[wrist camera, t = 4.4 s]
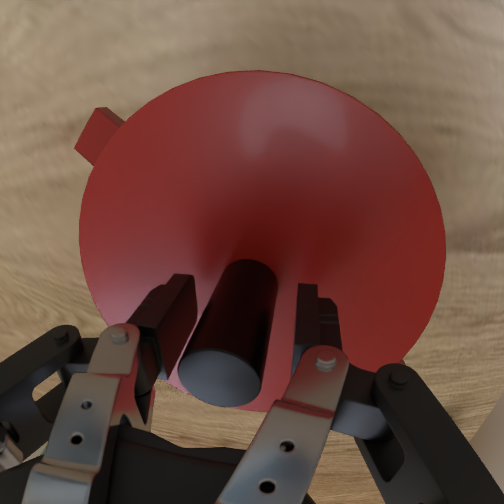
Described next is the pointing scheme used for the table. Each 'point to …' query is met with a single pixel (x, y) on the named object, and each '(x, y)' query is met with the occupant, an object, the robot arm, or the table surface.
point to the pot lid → (264, 227)
